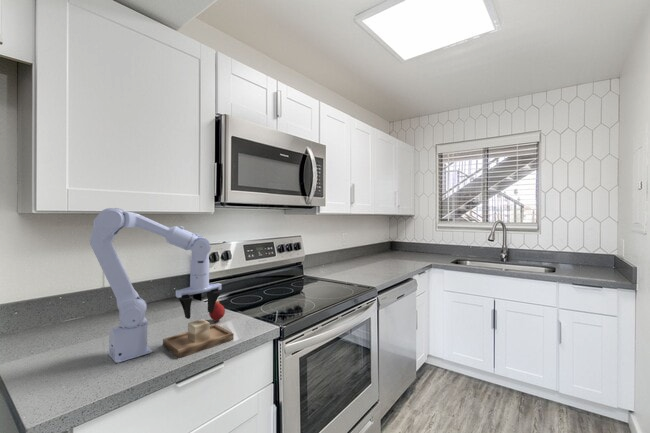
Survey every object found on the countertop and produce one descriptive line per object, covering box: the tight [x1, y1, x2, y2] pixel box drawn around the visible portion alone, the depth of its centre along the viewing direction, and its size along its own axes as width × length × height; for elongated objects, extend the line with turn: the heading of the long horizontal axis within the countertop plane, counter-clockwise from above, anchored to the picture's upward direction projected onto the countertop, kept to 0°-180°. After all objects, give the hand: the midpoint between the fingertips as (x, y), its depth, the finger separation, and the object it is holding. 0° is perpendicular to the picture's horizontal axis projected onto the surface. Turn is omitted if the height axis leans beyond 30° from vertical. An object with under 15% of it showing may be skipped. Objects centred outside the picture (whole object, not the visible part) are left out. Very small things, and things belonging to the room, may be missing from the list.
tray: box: [162, 324, 234, 359], centre depth 101 cm, size 18×12×2 cm, turn 138°
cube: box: [187, 318, 211, 342], centre depth 101 cm, size 5×5×5 cm
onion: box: [208, 300, 226, 322], centre depth 121 cm, size 6×6×8 cm
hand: (199, 315), depth 101 cm, fingers open, 7 cm apart
